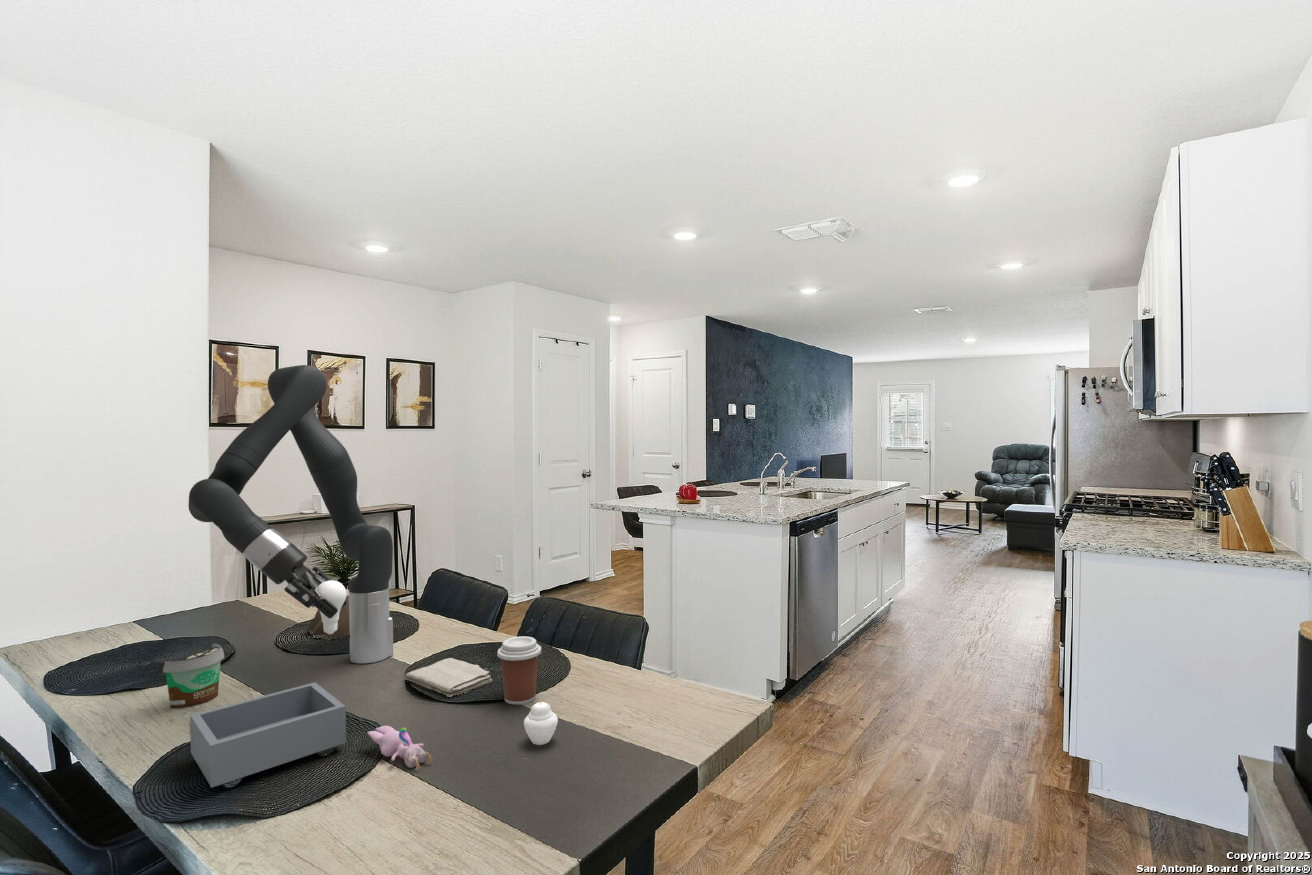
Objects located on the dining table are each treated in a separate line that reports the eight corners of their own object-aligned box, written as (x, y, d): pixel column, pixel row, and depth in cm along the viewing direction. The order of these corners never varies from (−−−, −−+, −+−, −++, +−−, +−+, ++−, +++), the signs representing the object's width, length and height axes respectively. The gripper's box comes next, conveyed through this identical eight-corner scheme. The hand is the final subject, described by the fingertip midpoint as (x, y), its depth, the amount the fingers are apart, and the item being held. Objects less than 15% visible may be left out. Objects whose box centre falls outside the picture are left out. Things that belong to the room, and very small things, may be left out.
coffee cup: (550, 693, 139) (549, 637, 139) (525, 710, 130) (524, 650, 130) (516, 686, 143) (515, 632, 142) (488, 702, 134) (487, 645, 134)
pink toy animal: (439, 767, 111) (386, 732, 119) (442, 735, 111) (389, 701, 119) (407, 784, 106) (354, 746, 114) (410, 750, 105) (357, 714, 114)
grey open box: (316, 723, 126) (315, 682, 126) (346, 751, 115) (345, 705, 115) (190, 761, 112) (189, 714, 112) (211, 797, 100) (210, 745, 100)
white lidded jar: (542, 752, 113) (541, 712, 113) (516, 743, 116) (516, 704, 116) (565, 737, 118) (564, 699, 118) (539, 730, 122) (539, 693, 122)
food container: (188, 713, 131) (187, 664, 131) (163, 711, 133) (162, 662, 132) (239, 689, 143) (238, 644, 143) (215, 687, 145) (214, 643, 145)
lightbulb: (353, 630, 136) (352, 578, 135) (330, 639, 130) (329, 584, 130) (330, 628, 138) (330, 576, 137) (306, 637, 132) (305, 583, 132)
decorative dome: (292, 641, 178) (291, 604, 178) (333, 620, 198) (333, 587, 197) (360, 641, 176) (359, 605, 176) (394, 620, 196) (394, 587, 196)
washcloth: (452, 701, 137) (451, 686, 137) (402, 683, 147) (402, 669, 147) (496, 683, 146) (496, 669, 146) (446, 667, 157) (446, 654, 157)
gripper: (275, 548, 125) (343, 606, 127) (301, 536, 139) (361, 588, 141) (245, 577, 124) (314, 634, 126) (274, 562, 138) (336, 614, 141)
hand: (339, 610), depth 134 cm, fingers closed on lightbulb, 6 cm apart
